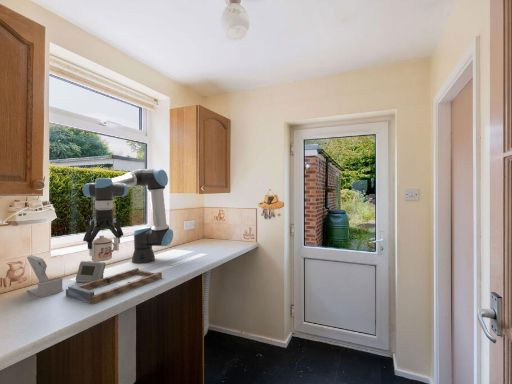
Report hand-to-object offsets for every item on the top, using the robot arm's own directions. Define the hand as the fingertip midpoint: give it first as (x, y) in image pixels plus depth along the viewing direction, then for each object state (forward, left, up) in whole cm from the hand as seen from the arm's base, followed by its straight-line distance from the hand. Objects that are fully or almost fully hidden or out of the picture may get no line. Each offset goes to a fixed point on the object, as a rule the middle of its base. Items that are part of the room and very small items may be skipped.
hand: (104, 253), depth 134 cm
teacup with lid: (0, 0, -3) cm, 3 cm away
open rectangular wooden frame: (-7, 0, -19) cm, 20 cm away
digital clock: (-5, -20, -19) cm, 28 cm away
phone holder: (+13, -27, -19) cm, 36 cm away
